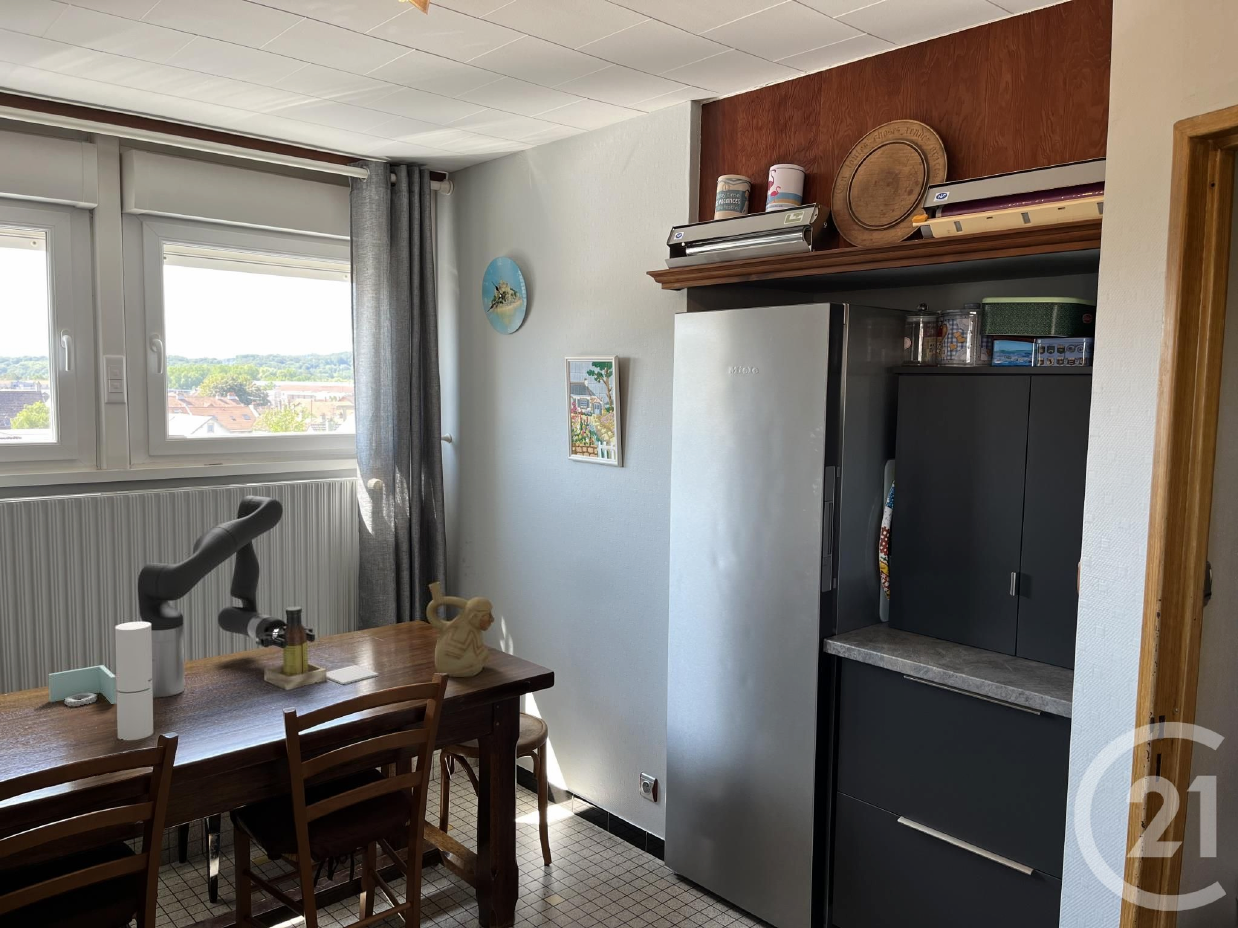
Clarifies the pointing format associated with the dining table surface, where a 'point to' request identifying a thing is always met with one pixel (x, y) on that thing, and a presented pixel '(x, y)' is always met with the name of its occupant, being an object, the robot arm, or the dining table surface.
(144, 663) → the cylindrical container
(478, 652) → the ceramic vessel
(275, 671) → the wood collar
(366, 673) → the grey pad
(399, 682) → the dining table surface
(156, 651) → the robot arm
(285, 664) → the sauce bottle
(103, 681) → the l-shaped corner panel
